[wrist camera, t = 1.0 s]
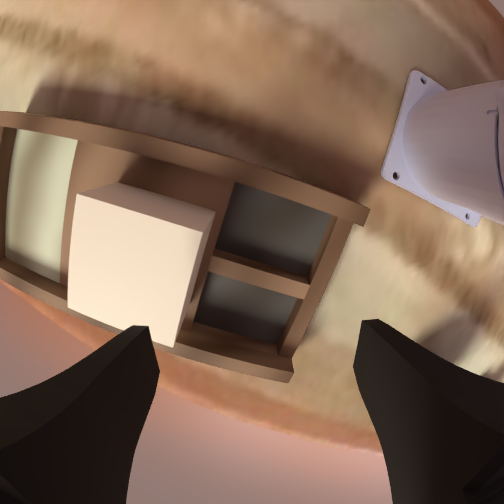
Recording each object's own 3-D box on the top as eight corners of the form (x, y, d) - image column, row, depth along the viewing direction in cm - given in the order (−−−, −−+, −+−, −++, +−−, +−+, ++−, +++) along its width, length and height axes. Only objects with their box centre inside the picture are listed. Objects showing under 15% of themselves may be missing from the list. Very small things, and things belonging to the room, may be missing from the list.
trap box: (352, 199, 17) (370, 209, 14) (284, 355, 21) (288, 383, 18) (25, 112, 15) (-1, 110, 12) (9, 258, 18) (-13, 271, 16)
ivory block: (215, 211, 16) (203, 232, 12) (189, 304, 18) (173, 347, 14) (117, 182, 15) (76, 193, 11) (102, 274, 17) (67, 307, 13)
